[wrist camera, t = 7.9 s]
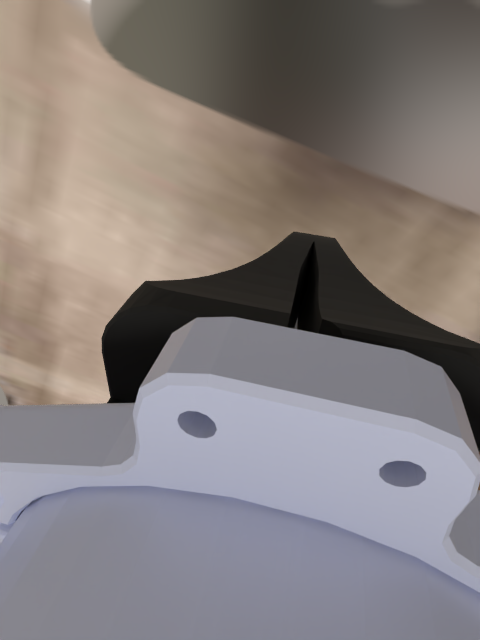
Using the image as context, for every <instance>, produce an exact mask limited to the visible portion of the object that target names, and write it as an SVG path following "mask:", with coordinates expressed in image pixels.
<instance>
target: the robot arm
mask: <svg viewBox="0 0 480 640" xmlns="http://www.w3.org/2000/svg"><path fill="white" fill-rule="evenodd" d="M297 318H298V321H297ZM296 321H297V329H294V328H295V325H296ZM102 354H103V359H104V365H105V370H106V376H107V381H108V386H109V392H110V397H111V398H110V399H109V401H108V402H107V403H104V404H61V405H17V406H3V405H0V640H480V490H478V487H479V483H480V455H479V452H480V344H479V343H476V342H474V341H471V340H469V339H466V338H464V337H461V336H458V335H456V334H453V333H451V332H448V331H446V330H444V329H441V328H439V327H437V326H435V325H433V324H431V323H429V322H427V321H425V320H423V319H421V318H420V317H418V316H416V315H414V314H412V313H411V312H409V311H407V310H406V309H404V308H403V307H401V306H400V305H398V304H396V303H395V302H394V301H392V300H391V299H389V298H388V297H387V296H385V295H384V294H383V293H382V292H381V291H379V290H378V289H377V288H376V287H375V286H373V285H372V284H371V283H370V282H369V281H368V280H367V279H366V278H365V277H364V276H363V274H362V273H361V272H360V271H359V270H358V269H357V268H356V267H355V265H354V264H353V263H352V262H351V260H350V259H349V258H348V256H347V255H346V254H345V252H344V251H343V249H342V248H341V246H340V245H339V243H338V242H337V240H336V239H335V238H330V237H324V236H318V235H312V234H306V233H300V232H293V233H291V234H290V235H289V236H288V237H286V238H285V239H284V240H283V241H282V242H280V243H279V244H278V245H277V246H275V247H274V248H272V249H271V250H270V251H268V252H267V253H265V254H264V255H262V256H260V257H259V258H257V259H255V260H253V261H251V262H249V263H247V264H245V265H242V266H240V267H237V268H235V269H232V270H228V271H225V272H221V273H217V274H214V275H210V276H205V277H199V278H192V279H184V280H168V281H145V282H144V283H143V284H142V285H141V286H140V287H139V288H138V289H137V290H136V291H135V292H134V293H133V294H132V295H131V296H130V298H129V299H128V300H127V301H126V302H125V304H124V305H123V306H122V307H121V308H120V309H119V311H118V312H117V313H116V314H115V315H114V317H113V318H112V319H111V320H110V321H109V323H108V324H107V325H106V327H105V330H104V333H103V336H102Z"/></svg>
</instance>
